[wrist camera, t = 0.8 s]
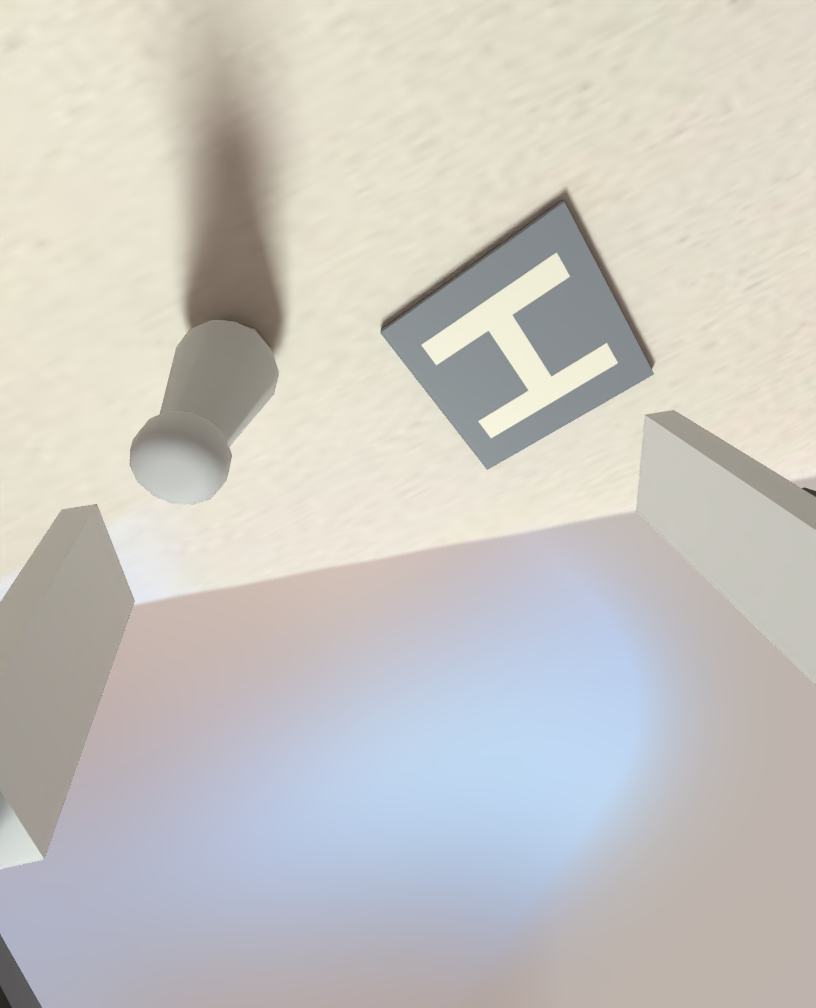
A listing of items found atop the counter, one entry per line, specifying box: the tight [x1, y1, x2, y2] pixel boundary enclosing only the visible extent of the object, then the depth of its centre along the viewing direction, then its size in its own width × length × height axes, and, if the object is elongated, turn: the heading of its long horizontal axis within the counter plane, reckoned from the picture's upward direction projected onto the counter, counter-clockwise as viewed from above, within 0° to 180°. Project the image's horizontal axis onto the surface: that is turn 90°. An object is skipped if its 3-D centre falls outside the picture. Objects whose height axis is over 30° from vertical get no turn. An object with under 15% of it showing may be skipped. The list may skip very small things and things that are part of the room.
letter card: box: [381, 200, 654, 470], centre depth 38 cm, size 12×12×1 cm
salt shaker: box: [130, 320, 279, 505], centre depth 32 cm, size 6×6×13 cm
